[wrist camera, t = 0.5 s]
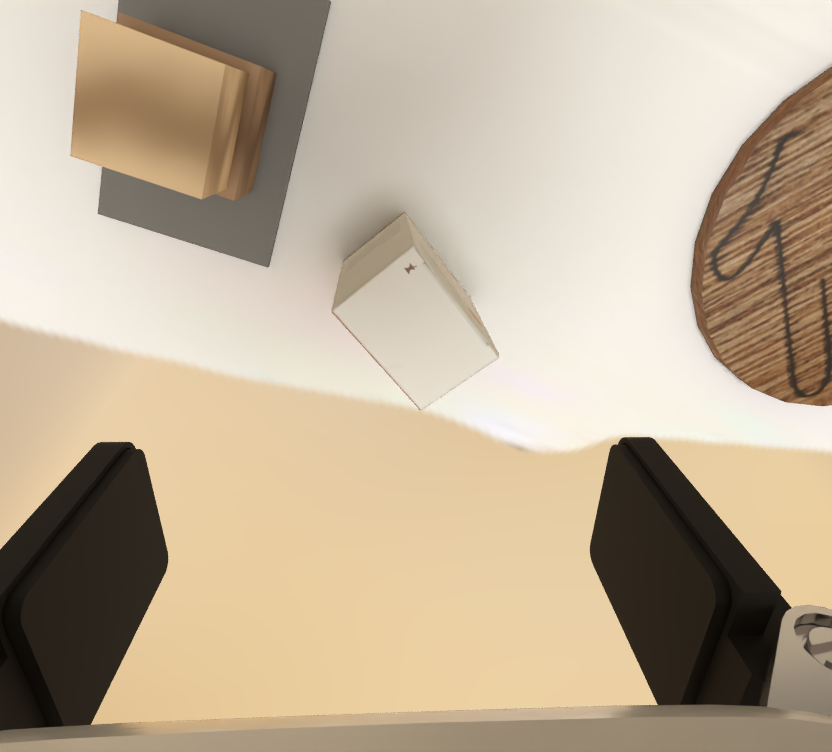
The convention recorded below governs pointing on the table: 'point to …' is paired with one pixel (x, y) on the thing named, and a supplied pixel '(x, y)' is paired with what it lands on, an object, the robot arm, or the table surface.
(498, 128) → the table surface
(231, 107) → the oak block
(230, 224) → the slate mat
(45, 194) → the table surface
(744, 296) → the trivet
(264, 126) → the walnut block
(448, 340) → the small box
